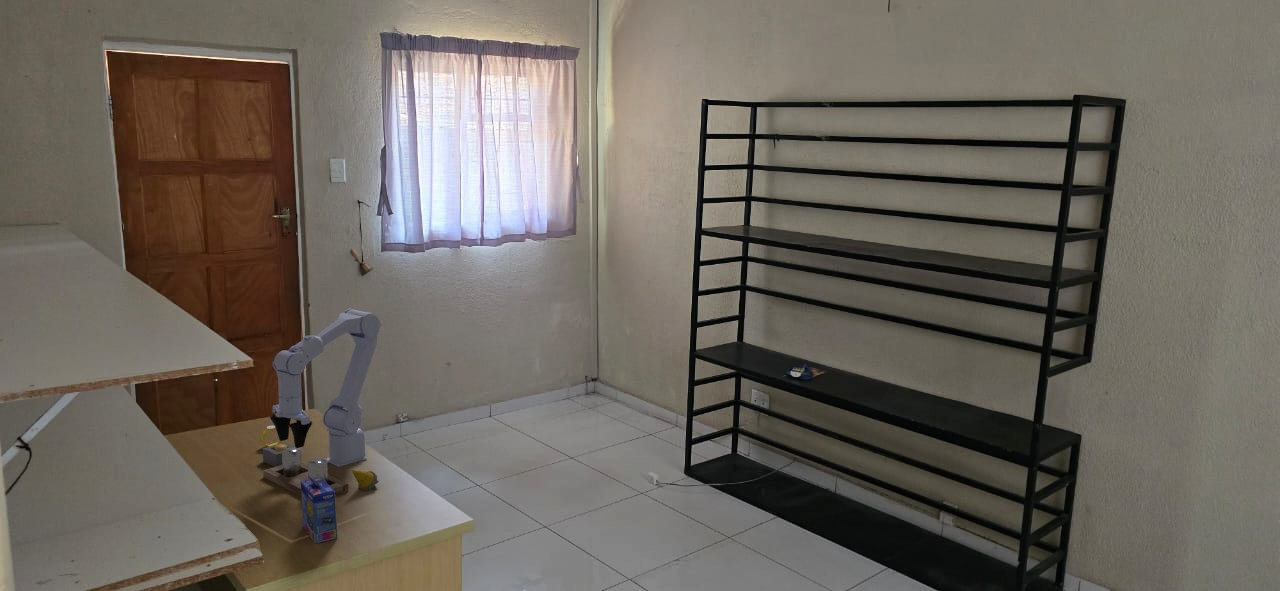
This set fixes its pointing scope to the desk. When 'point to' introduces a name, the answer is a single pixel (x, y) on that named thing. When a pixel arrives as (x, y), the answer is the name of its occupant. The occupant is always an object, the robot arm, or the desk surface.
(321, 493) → the ink cartridge box
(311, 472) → the cylinder
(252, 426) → the desk surface
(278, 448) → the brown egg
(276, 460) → the button housing
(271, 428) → the watch
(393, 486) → the desk surface
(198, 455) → the desk surface
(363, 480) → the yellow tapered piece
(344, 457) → the robot arm
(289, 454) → the steel billet
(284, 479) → the frame
